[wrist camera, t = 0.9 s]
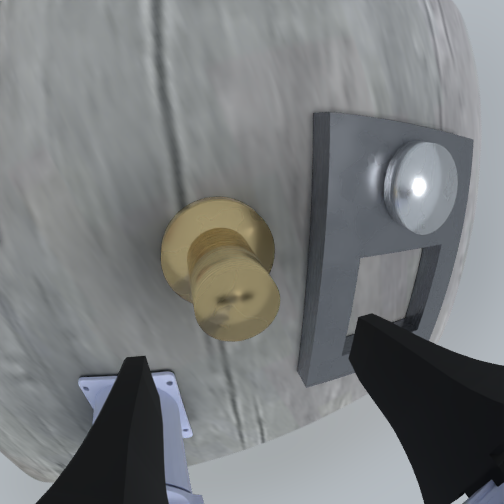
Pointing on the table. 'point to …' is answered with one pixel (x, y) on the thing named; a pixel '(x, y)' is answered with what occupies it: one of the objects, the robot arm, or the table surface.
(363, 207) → the carrier plate
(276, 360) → the table surface
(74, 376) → the table surface
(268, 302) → the gold flanged round piece
